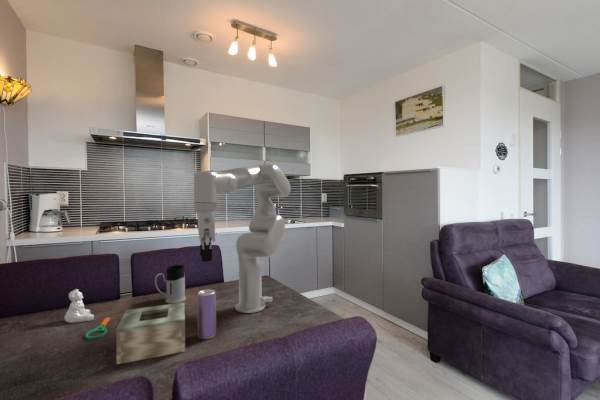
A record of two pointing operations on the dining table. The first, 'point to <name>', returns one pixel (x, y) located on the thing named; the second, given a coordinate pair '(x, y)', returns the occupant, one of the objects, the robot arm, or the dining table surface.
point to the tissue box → (151, 332)
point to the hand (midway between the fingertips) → (205, 258)
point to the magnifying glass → (98, 330)
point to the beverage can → (206, 314)
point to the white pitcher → (174, 284)
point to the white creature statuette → (77, 309)
